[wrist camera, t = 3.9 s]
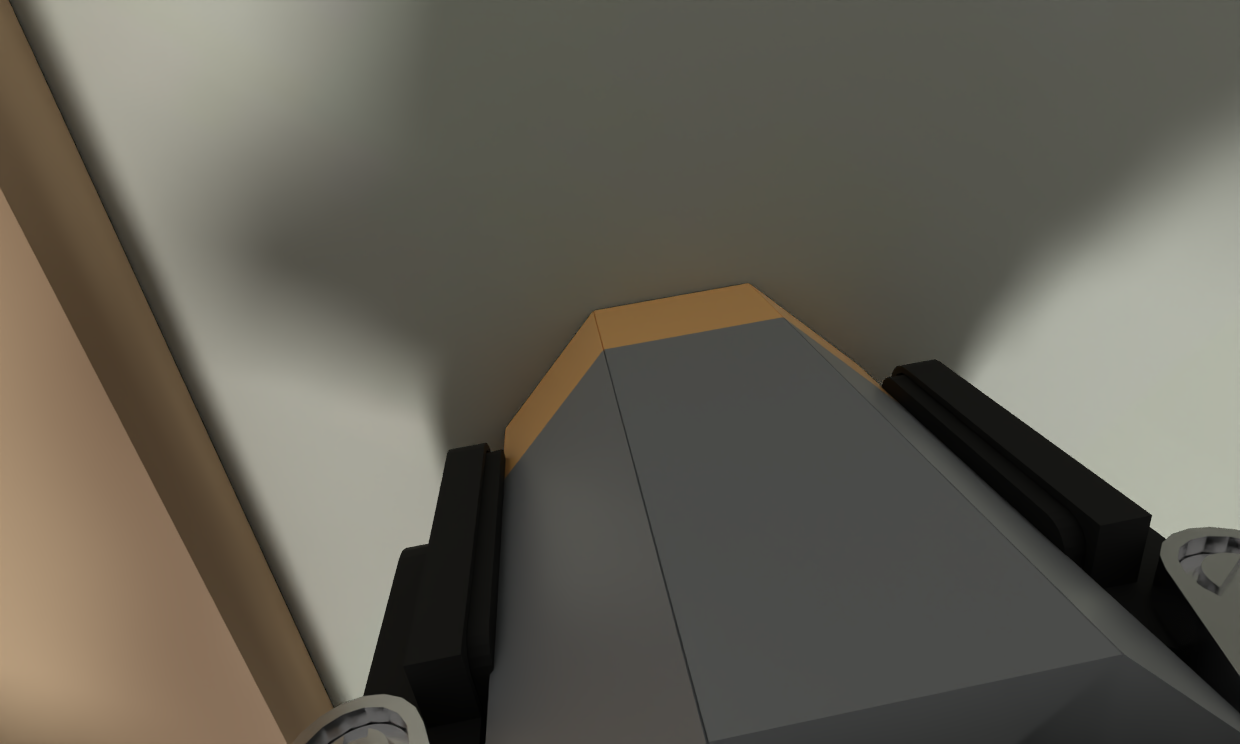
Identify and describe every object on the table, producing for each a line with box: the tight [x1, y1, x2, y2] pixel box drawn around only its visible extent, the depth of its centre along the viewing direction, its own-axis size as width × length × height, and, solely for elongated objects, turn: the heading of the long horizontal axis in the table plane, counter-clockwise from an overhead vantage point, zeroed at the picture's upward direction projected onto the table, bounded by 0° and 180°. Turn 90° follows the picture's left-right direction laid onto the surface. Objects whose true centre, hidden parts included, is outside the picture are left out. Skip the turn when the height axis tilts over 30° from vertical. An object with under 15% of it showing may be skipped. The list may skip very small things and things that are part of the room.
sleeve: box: [485, 283, 1240, 744], centre depth 8 cm, size 6×6×7 cm
